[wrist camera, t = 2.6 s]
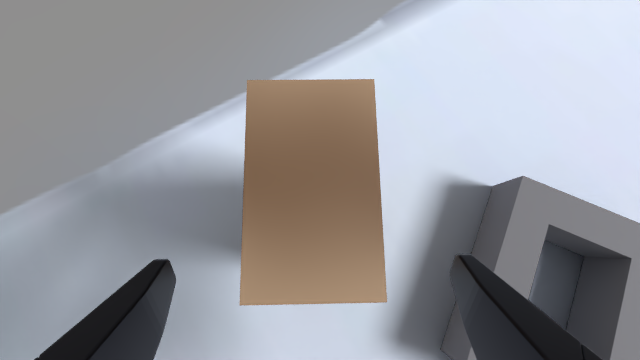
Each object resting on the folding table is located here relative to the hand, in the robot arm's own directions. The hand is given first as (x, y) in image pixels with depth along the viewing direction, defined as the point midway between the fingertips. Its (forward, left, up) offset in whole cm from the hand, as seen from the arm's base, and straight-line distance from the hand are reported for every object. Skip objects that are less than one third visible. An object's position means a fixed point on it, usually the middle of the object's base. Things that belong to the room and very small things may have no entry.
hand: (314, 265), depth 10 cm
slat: (+1, +1, -9) cm, 10 cm away
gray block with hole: (+6, -12, -9) cm, 17 cm away
